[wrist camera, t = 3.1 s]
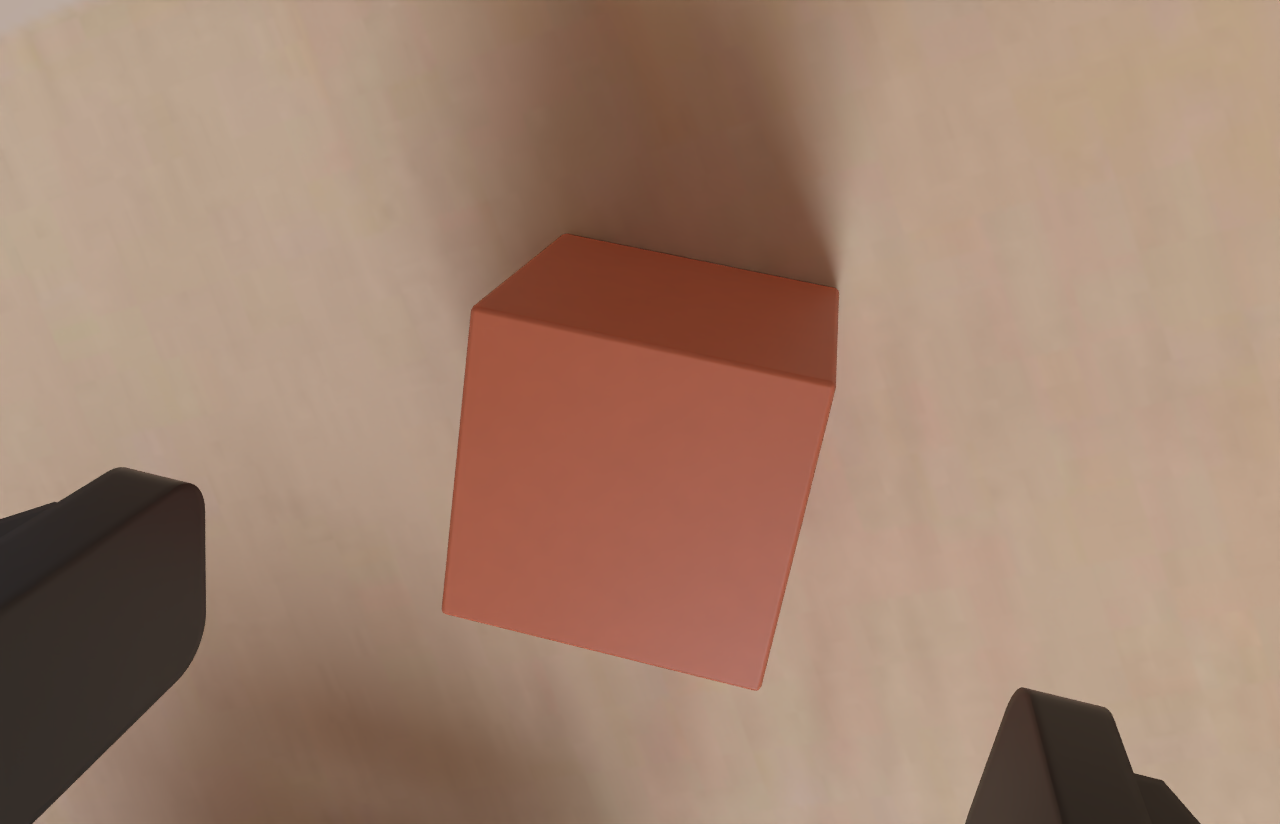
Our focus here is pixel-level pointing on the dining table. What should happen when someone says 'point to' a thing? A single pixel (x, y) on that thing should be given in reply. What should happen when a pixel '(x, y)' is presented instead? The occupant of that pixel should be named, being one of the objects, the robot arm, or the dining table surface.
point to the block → (639, 454)
